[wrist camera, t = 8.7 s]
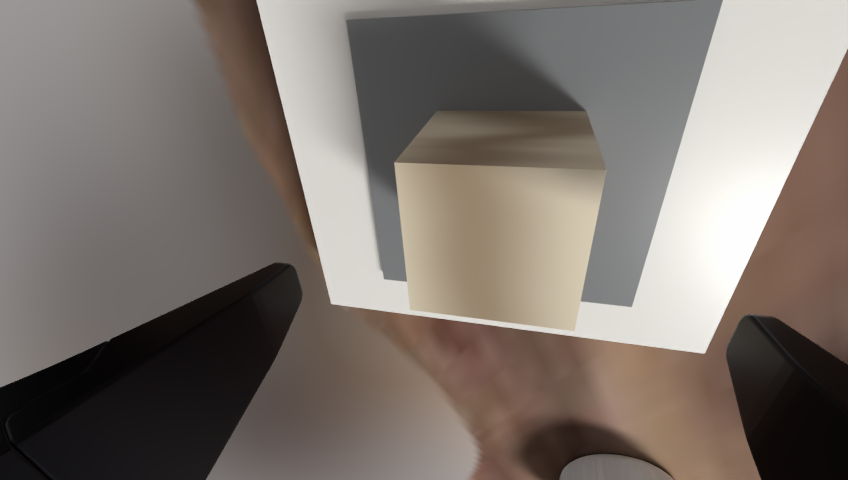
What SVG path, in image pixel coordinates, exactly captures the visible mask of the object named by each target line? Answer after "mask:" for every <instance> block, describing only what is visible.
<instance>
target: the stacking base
mask: <svg viewBox="0 0 848 480" xmlns="http://www.w3.org/2000/svg"><path fill="white" fill-rule="evenodd" d="M256 1H257V5H258V9H259V13H260V17H261V21H262V25H263V29H264V33H265V37H266V41H267V45H268V49H269V53H270V57H271V61H272V65H273V69H274V74H275V78H276V82H277V86H278V90H279V94H280V98H281V102H282V106H283V110H284V114H285V118H286V122H287V126H288V130H289V134H290V138H291V142H292V146H293V150H294V154H295V159H296V163H297V167H298V171H299V175H300V179H301V183H302V187H303V191H304V195H305V199H306V203H307V207H308V211H309V215H310V219H311V223H312V227H313V231H314V235H315V239H316V244H317V248H318V252H319V256H320V260H321V264H322V268H323V272H324V276H325V280H326V284H327V288H328V292H329V296H330V300H331V304H335V305H343V306H350V307H358V308H365V309H373V310H380V311H388V312H395V313H403V314H410V315H418V316H425V317H433V318H441V319H448V320H456V321H463V322H471V323H478V324H486V325H493V326H501V327H508V328H516V329H523V330H531V331H538V332H546V333H553V334H561V335H568V336H576V337H583V338H591V339H598V340H606V341H613V342H621V343H628V344H636V345H643V346H651V347H658V348H666V349H674V350H681V351H689V352H696V353H704V354H705V352H706V350H707V348H708V346H709V343H710V341H711V339H712V337H713V335H714V333H715V331H716V328H717V326H718V324H719V322H720V320H721V318H722V316H723V313H724V311H725V309H726V307H727V305H728V303H729V301H730V299H731V296H732V294H733V292H734V290H735V288H736V286H737V284H738V281H739V279H740V277H741V275H742V273H743V271H744V269H745V267H746V264H747V262H748V260H749V258H750V256H751V254H752V252H753V249H754V247H755V245H756V243H757V241H758V239H759V237H760V234H761V232H762V230H763V228H764V226H765V224H766V222H767V220H768V217H769V215H770V213H771V211H772V209H773V207H774V205H775V202H776V200H777V198H778V196H779V194H780V192H781V190H782V188H783V185H784V183H785V181H786V179H787V177H788V175H789V173H790V170H791V168H792V166H793V164H794V162H795V160H796V158H797V156H798V153H799V151H800V149H801V147H802V145H803V143H804V141H805V138H806V136H807V134H808V132H809V130H810V128H811V126H812V123H813V121H814V119H815V117H816V115H817V113H818V111H819V109H820V106H821V104H822V102H823V100H824V98H825V96H826V94H827V91H828V89H829V87H830V85H831V83H832V81H833V79H834V77H835V74H836V72H837V70H838V68H839V66H840V64H841V62H842V59H843V57H844V55H845V53H846V51H847V49H848V0H256ZM437 111H587V114H588V117H589V120H590V123H591V126H592V129H593V132H594V135H595V137H596V140H597V143H598V146H599V149H600V152H601V155H602V158H603V161H604V164H605V166H606V169H607V171H606V176H605V181H604V186H603V191H602V196H601V201H600V206H599V211H598V216H597V221H596V226H595V231H594V236H593V241H592V246H591V251H590V256H589V261H588V266H587V271H586V276H585V281H584V286H583V291H582V296H581V301H580V306H579V311H578V316H577V321H576V326H575V331H570V330H562V329H555V328H547V327H539V326H531V325H524V324H516V323H508V322H500V321H493V320H485V319H477V318H469V317H462V316H454V315H446V314H439V313H431V312H423V311H415V310H410V304H409V295H408V286H407V277H406V267H405V258H404V249H403V239H402V230H401V221H400V211H399V202H398V193H397V184H396V174H395V165H394V162H395V161H396V160H397V159H398V157H399V156H400V155H401V154H402V153H403V151H404V150H405V149H406V148H407V147H408V145H409V144H410V143H411V142H412V140H413V139H414V138H415V137H416V136H417V134H418V133H419V132H420V131H421V130H422V128H423V127H424V126H425V125H426V124H427V122H428V121H429V120H430V119H431V118H432V116H433V115H434V114H435V113H436V112H437Z"/></svg>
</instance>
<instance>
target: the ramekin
mask: <svg viewBox="0 0 848 480" xmlns="http://www.w3.org/2000/svg"><path fill="white" fill-rule="evenodd" d="M560 480H674V479H673V478H672V477H671V476H669V475H668V474H667V473H666V472H664V471H663V470H661V469H660V468H658V467H656V466H654V465H652V464H650V463H648V462H645V461H643V460H640V459H636V458H632V457H628V456H623V455H615V454H595V455H588V456H584V457H581V458H578V459H576V460H574V461H572V462H570V463H569V464H568V465H566V466H565V468H564V469H563V470H562V473H561V475H560Z"/></svg>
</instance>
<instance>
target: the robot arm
mask: <svg viewBox="0 0 848 480" xmlns="http://www.w3.org/2000/svg"><path fill="white" fill-rule="evenodd" d="M301 300H302V289H301V285H300V282H299V279H298V275H297V272H296V269H295V267H294V266H293V265H292V264H288V263H273V264H271V265H269V266H267V267H265V268H262V269H260V270H258V271H256V272H254V273H252V274H250V275H248V276H246V277H243V278H241V279H239V280H237V281H235V282H232V283H230V284H228V285H226V286H224V287H222V288H219V289H217V290H215V291H213V292H211V293H209V294H207V295H204V296H202V297H200V298H198V299H196V300H194V301H191V302H190V303H187V304H185V305H183V306H181V307H179V308H176V309H174V310H173V311H170V312H168V313H166V314H164V315H161V316H159V317H157V318H155V319H153V320H151V321H149V322H146V323H144V324H142V325H140V326H138V327H136V328H134V329H132V330H129V331H127V332H125V333H123V334H121V335H119V336H116V337H114V338H112V339H111V340H110V341H109V342H108V341H106V342H103V343H101V344H99V345H97V346H95V347H93V348H90V349H88V350H86V351H84V352H82V353H80V354H77V355H75V356H73V357H70V358H68V359H66V360H64V361H62V362H59V363H57V364H55V365H53V366H50V367H48V368H46V369H43V370H41V371H39V372H36V373H34V374H31V375H29V376H27V377H24V378H22V379H20V380H17V381H15V382H13V383H10V384H8V385H5V386H3V387H0V480H206V478H207V477H208V475H209V473H210V471H211V470H212V468H213V466H214V465H215V463H216V461H217V459H218V458H219V456H220V454H221V452H222V451H223V449H224V447H225V445H226V443H227V442H228V440H229V439H230V437H231V435H232V433H233V431H234V430H235V428H236V426H237V425H238V423H239V421H240V419H241V418H242V416H243V414H244V412H245V411H246V409H247V407H248V405H249V404H250V402H251V400H252V399H253V397H254V395H255V393H256V392H257V390H258V388H259V386H260V385H261V383H262V381H263V379H264V378H265V376H266V374H267V372H268V371H269V369H270V367H271V365H272V364H273V362H274V360H275V358H276V356H277V354H278V352H279V350H280V348H281V346H282V343H283V341H284V339H285V336H286V334H287V332H288V330H289V328H290V325H291V323H292V321H293V319H294V316H295V314H296V312H297V310H298V308H299V305H300V303H301ZM726 358H727V362H728V367H729V371H730V375H731V379H732V383H733V387H734V391H735V395H736V399H737V403H738V407H739V412H740V416H741V420H742V424H743V428H744V431H745V435H746V438H747V442H748V445H749V447H750V450H751V453H752V456H753V459H754V461H755V464H756V467H757V469H758V472H759V475H760V477H761V480H848V365H847V364H846V363H844V362H843V361H841V360H840V359H838V358H837V357H835V356H834V355H832V354H831V353H829V352H827V351H826V350H824V349H823V348H821V347H820V346H818V345H817V344H815V343H814V342H812V341H811V340H809V339H808V338H806V337H805V336H803V335H802V334H800V333H799V332H797V331H795V330H794V329H792V328H791V327H789V326H788V325H786V324H785V323H783V322H782V321H780V320H779V319H777V318H775V317H771V316H763V315H754V314H748V315H745V316H743V317H742V318H741V320H740V322H739V324H738V326H737V328H736V329H735V331H734V333H733V335H732V337H731V339H730V341H729V343H728V346H727V350H726Z"/></svg>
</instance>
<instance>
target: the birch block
mask: <svg viewBox="0 0 848 480" xmlns="http://www.w3.org/2000/svg"><path fill="white" fill-rule="evenodd" d="M394 165H395V174H396V184H397V193H398V202H399V211H400V221H401V230H402V239H403V249H404V258H405V267H406V277H407V286H408V295H409V304H410V310H415V311H423V312H431V313H439V314H446V315H454V316H462V317H469V318H477V319H485V320H493V321H500V322H508V323H516V324H524V325H531V326H539V327H547V328H555V329H562V330H570V331H575V326H576V321H577V316H578V311H579V306H580V301H581V296H582V291H583V286H584V281H585V276H586V271H587V266H588V261H589V256H590V251H591V246H592V241H593V236H594V231H595V226H596V221H597V216H598V211H599V206H600V201H601V196H602V191H603V186H604V181H605V176H606V171H607V169H606V166H605V164H604V161H603V158H602V155H601V152H600V149H599V146H598V143H597V140H596V137H595V135H594V132H593V129H592V126H591V123H590V120H589V117H588V114H587V111H437V112H436V113H435V114H434V115H433V116H432V118H431V119H430V120H429V121H428V122H427V124H426V125H425V126H424V127H423V128H422V130H421V131H420V132H419V133H418V134H417V136H416V137H415V138H414V139H413V140H412V142H411V143H410V144H409V145H408V147H407V148H406V149H405V150H404V151H403V153H402V154H401V155H400V156H399V157H398V159H397V160H396V161H395V162H394Z"/></svg>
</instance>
